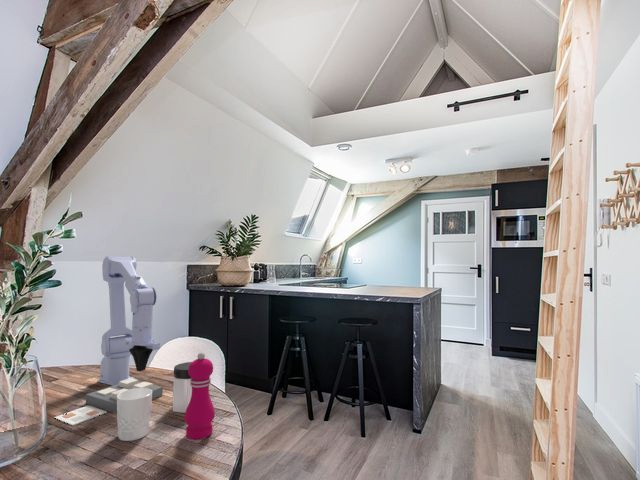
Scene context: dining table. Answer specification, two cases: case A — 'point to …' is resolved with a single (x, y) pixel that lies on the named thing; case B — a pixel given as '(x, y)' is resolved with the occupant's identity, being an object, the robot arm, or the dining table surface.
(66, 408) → the dining table surface
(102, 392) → the button
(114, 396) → the button
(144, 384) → the button
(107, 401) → the button board
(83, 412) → the card
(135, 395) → the white cup
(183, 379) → the jar
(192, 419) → the pepper mill
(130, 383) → the button
